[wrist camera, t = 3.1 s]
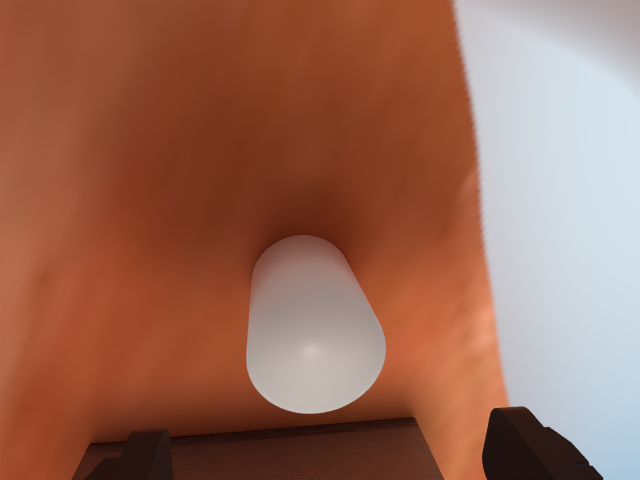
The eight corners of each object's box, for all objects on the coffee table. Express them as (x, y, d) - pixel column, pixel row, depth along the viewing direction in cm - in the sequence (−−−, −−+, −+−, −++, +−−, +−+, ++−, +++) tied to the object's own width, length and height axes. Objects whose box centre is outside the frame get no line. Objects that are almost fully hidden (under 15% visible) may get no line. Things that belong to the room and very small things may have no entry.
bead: (249, 236, 17) (243, 296, 12) (353, 233, 17) (391, 290, 12) (252, 328, 18) (248, 418, 13) (348, 323, 19) (380, 408, 14)
